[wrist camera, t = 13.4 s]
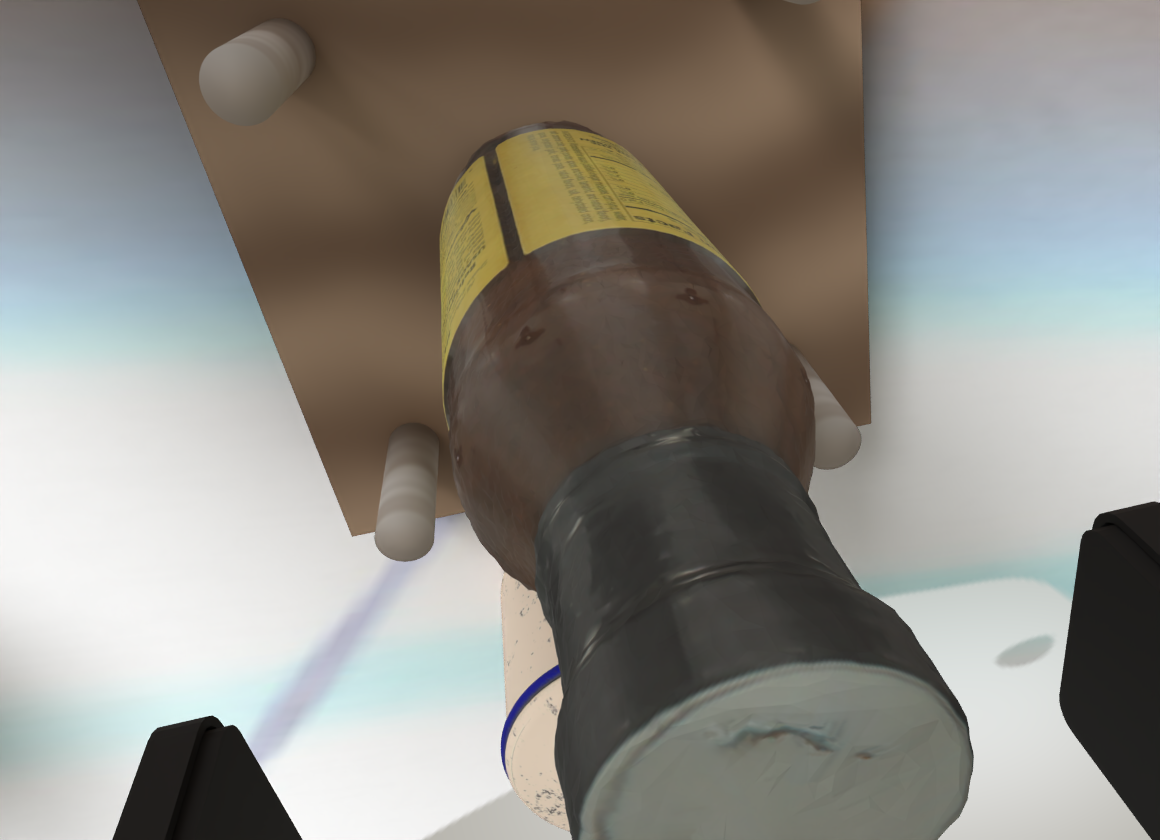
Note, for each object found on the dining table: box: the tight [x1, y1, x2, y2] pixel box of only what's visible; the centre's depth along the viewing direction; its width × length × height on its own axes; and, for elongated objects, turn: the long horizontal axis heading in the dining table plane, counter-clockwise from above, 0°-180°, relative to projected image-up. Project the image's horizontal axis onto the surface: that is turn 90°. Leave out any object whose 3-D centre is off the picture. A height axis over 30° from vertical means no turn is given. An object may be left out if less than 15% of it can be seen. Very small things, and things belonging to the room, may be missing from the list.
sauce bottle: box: [440, 121, 974, 840], centre depth 17 cm, size 6×6×20 cm
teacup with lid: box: [501, 572, 570, 831], centre depth 34 cm, size 12×9×12 cm
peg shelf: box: [137, 0, 871, 562], centre depth 26 cm, size 18×18×10 cm
